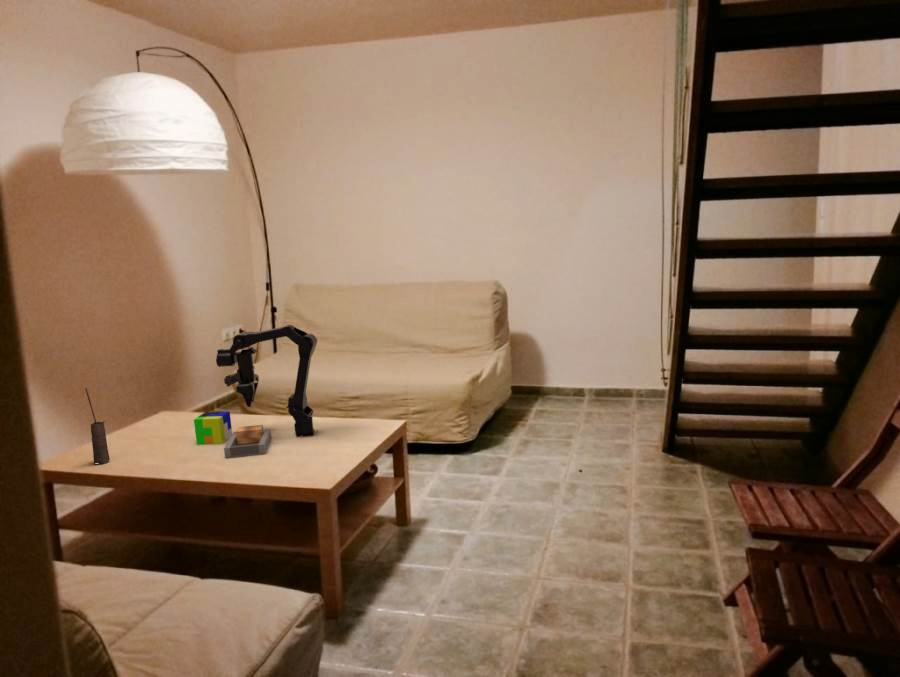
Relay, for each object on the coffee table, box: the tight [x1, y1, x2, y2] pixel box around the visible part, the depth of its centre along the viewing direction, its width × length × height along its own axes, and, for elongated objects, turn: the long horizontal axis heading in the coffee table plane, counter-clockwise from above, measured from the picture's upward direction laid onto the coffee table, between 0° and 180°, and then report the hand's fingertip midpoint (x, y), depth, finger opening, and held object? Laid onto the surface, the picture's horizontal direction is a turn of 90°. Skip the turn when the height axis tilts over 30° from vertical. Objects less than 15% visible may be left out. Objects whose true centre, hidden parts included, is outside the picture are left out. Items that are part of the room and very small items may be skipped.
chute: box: [223, 428, 272, 459], centre depth 257 cm, size 14×20×4 cm
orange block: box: [235, 424, 265, 444], centre depth 262 cm, size 9×6×5 cm, turn 98°
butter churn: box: [84, 387, 111, 464], centre depth 249 cm, size 9×10×28 cm
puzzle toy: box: [193, 411, 233, 445], centre depth 269 cm, size 10×10×10 cm
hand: (250, 404), depth 269 cm, fingers open, 7 cm apart
